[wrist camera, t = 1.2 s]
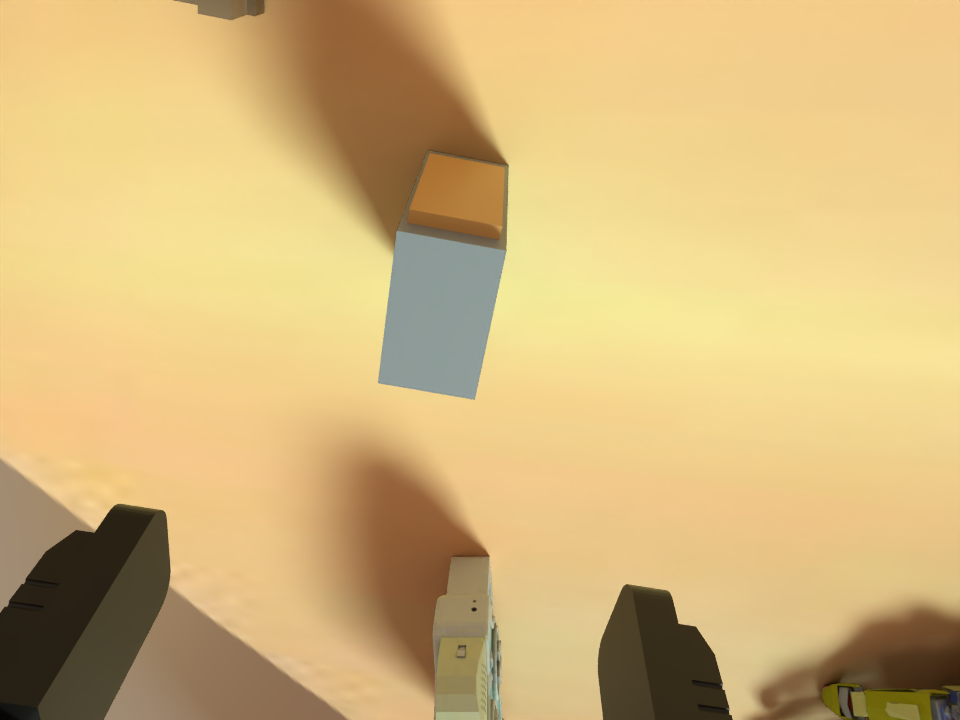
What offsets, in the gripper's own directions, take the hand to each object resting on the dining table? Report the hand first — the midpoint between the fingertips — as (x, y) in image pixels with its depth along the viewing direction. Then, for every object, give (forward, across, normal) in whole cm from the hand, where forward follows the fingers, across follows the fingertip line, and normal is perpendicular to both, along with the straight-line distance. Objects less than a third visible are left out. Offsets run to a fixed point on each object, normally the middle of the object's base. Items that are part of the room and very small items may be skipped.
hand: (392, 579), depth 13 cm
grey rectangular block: (+18, 0, 0) cm, 18 cm away
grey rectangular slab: (+18, -5, +24) cm, 30 cm away
